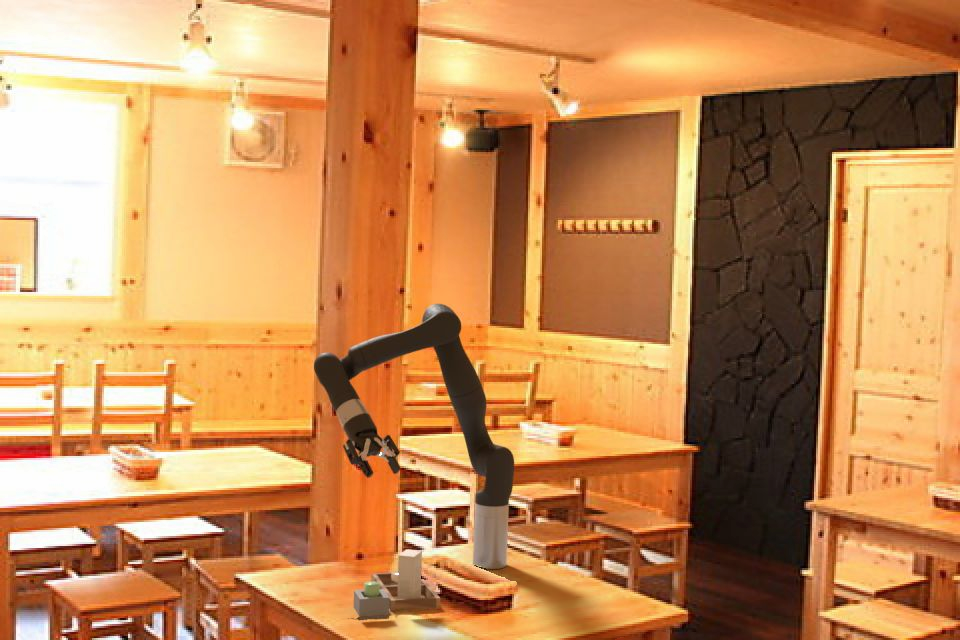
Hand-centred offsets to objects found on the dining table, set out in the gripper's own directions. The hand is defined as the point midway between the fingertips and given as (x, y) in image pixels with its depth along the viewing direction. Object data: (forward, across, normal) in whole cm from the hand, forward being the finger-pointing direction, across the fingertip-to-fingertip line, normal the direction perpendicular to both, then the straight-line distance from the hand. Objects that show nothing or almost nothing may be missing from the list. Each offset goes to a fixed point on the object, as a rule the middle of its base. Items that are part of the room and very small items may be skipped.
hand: (384, 473), depth 296 cm
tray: (+26, +3, +18) cm, 31 cm away
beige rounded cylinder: (+21, +6, +21) cm, 30 cm away
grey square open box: (+29, -11, +15) cm, 34 cm away
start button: (+26, -11, +12) cm, 31 cm away
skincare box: (+28, 0, +14) cm, 31 cm away
